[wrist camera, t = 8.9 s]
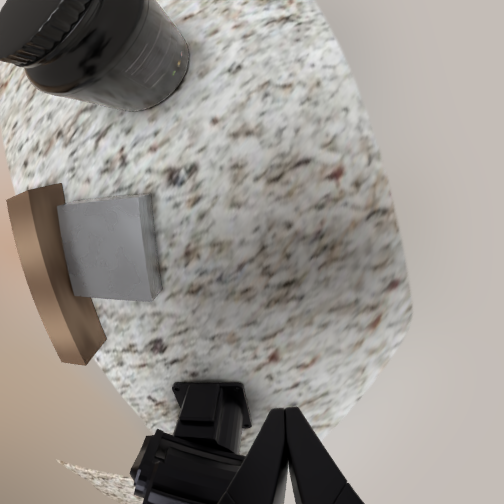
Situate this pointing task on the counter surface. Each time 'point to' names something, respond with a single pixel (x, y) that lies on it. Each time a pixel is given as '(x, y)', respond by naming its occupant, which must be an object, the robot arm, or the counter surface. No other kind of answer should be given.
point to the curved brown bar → (53, 275)
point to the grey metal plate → (111, 247)
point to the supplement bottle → (95, 49)
